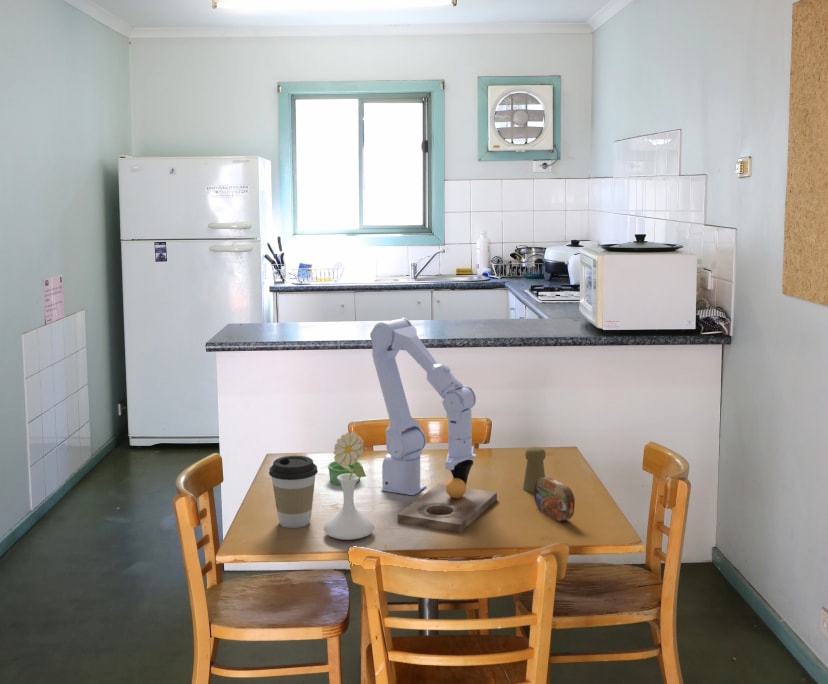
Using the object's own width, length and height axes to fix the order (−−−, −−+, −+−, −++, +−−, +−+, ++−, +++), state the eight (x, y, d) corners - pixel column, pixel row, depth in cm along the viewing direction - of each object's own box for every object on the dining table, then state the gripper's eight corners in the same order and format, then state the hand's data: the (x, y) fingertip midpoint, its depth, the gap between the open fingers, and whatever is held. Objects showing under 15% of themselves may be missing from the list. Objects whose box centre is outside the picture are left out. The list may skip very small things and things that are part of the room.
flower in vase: (316, 531, 228) (313, 426, 224) (360, 522, 234) (359, 419, 229) (340, 550, 217) (338, 440, 213) (386, 540, 223) (385, 433, 218)
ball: (443, 500, 244) (442, 483, 242) (451, 488, 248) (449, 472, 246) (462, 504, 242) (461, 487, 240) (469, 492, 246) (468, 476, 244)
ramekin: (365, 476, 268) (365, 460, 267) (357, 487, 259) (357, 470, 258) (333, 474, 269) (332, 458, 269) (324, 485, 261) (324, 469, 260)
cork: (545, 493, 253) (546, 451, 251) (521, 491, 255) (522, 450, 253) (547, 485, 259) (548, 445, 257) (524, 484, 260) (524, 443, 258)
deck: (397, 522, 234) (397, 514, 234) (438, 491, 255) (438, 483, 255) (460, 532, 227) (460, 524, 227) (496, 499, 249) (496, 492, 248)
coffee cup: (274, 513, 240) (272, 453, 237) (321, 514, 239) (320, 454, 237) (266, 531, 229) (264, 468, 226) (315, 531, 228) (314, 469, 225)
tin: (532, 505, 245) (533, 473, 243) (543, 504, 246) (544, 471, 244) (565, 526, 231) (565, 491, 230) (576, 524, 232) (577, 490, 231)
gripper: (464, 445, 236) (465, 500, 238) (485, 430, 249) (485, 482, 251) (436, 443, 239) (437, 497, 241) (459, 427, 252) (459, 479, 254)
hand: (460, 489), depth 246 cm, fingers closed, pressing on ball
